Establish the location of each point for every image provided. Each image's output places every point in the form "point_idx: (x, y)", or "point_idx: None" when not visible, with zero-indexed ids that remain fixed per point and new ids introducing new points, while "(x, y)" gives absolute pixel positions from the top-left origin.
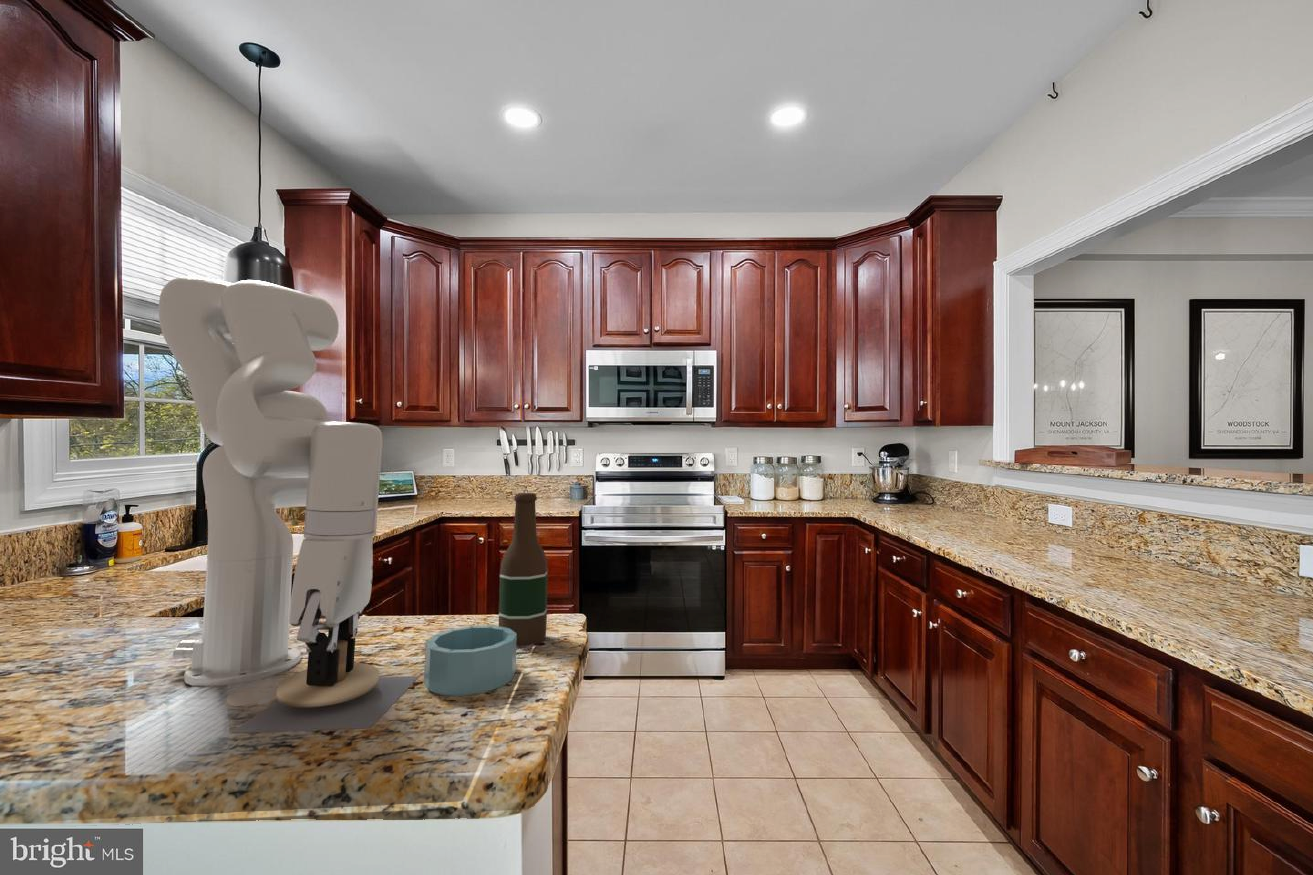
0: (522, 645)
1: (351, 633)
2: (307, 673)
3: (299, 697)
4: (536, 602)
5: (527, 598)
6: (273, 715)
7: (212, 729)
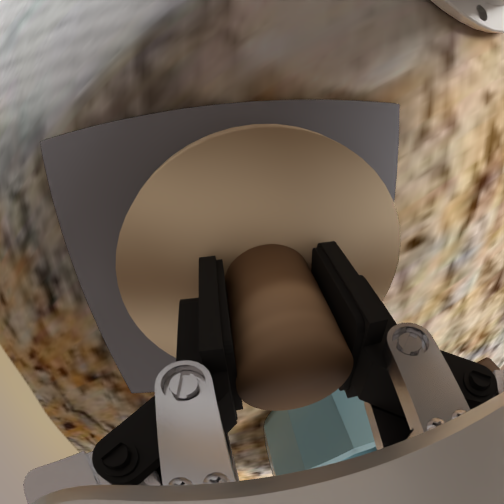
0: None
1: (367, 404)
2: (199, 279)
3: (130, 276)
4: None
5: None
6: (138, 171)
7: (77, 54)
